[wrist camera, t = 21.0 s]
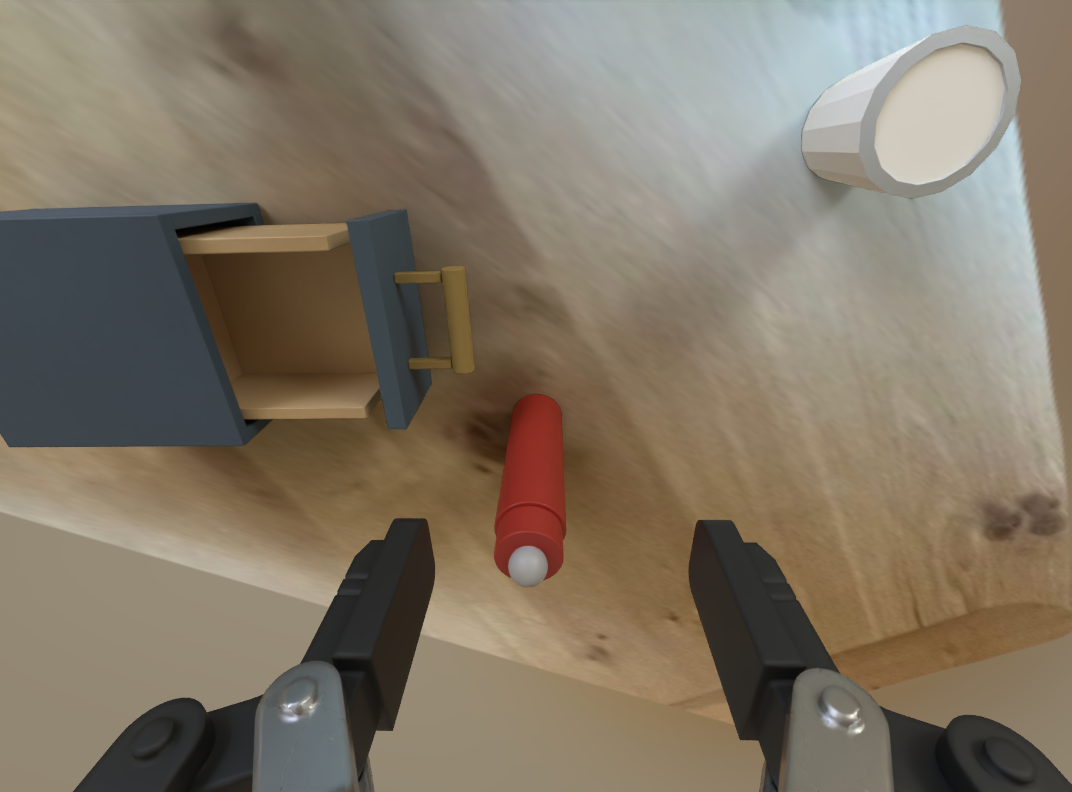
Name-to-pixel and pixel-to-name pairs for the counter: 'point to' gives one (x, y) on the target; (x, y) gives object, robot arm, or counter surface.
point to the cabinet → (111, 331)
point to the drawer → (324, 316)
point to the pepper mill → (532, 494)
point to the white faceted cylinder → (916, 115)
